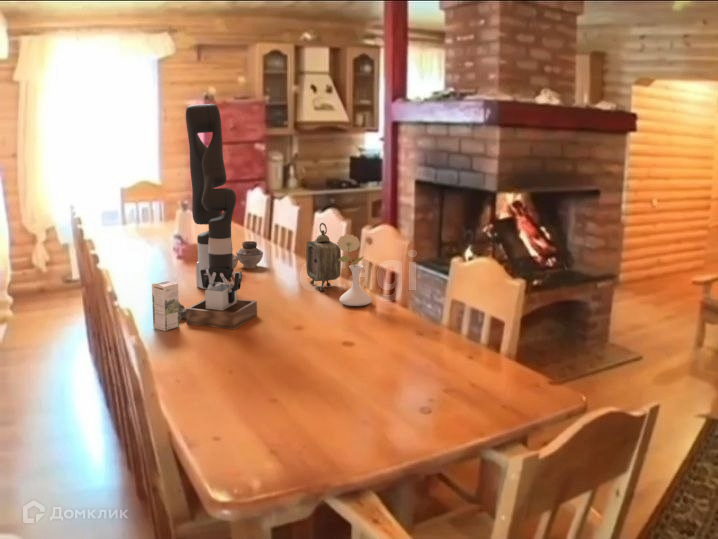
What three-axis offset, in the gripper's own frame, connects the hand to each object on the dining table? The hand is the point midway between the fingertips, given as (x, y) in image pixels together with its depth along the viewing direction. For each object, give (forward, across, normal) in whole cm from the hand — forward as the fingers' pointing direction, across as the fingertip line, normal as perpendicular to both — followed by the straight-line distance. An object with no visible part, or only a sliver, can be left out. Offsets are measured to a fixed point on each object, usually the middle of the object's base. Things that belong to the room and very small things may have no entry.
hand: (221, 301), depth 239 cm
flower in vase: (+6, +34, +33) cm, 48 cm away
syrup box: (+6, -12, -14) cm, 19 cm away
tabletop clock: (+6, +16, +51) cm, 54 cm away
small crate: (+1, 0, 0) cm, 1 cm away
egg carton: (+7, -16, -4) cm, 17 cm away
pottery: (+6, -27, +65) cm, 71 cm away
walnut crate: (+6, 0, 0) cm, 6 cm away
